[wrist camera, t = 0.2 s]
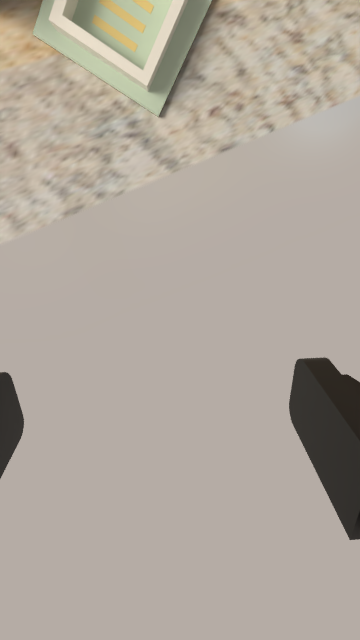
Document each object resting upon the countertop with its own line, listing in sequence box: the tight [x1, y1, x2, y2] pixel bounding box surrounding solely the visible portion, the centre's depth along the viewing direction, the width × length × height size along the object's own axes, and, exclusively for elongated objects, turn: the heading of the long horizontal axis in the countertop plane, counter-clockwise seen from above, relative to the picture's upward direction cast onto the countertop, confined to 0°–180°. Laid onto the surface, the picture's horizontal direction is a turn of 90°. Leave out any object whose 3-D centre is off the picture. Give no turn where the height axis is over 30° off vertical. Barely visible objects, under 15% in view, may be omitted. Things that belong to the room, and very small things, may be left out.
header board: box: [33, 0, 212, 117], centre depth 27 cm, size 10×12×3 cm
